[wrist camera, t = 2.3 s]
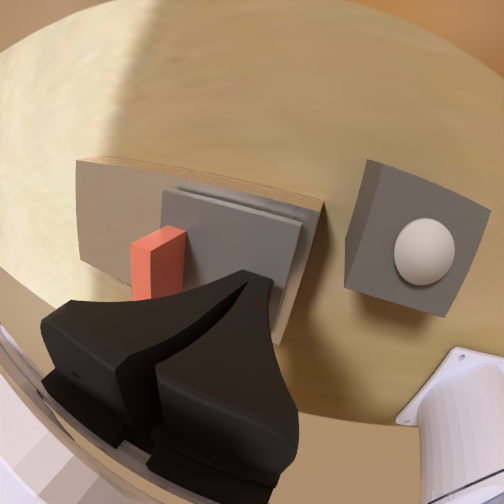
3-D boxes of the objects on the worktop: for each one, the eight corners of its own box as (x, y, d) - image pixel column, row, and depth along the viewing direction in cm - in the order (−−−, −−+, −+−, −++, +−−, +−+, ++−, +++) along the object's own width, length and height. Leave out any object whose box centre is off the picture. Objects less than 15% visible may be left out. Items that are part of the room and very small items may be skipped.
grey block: (442, 187, 10) (496, 213, 5) (416, 262, 12) (447, 324, 7) (367, 159, 11) (385, 164, 6) (345, 238, 13) (343, 293, 8)
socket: (323, 201, 12) (319, 212, 10) (289, 319, 15) (279, 345, 13) (103, 155, 16) (76, 160, 13) (103, 247, 18) (80, 259, 16)
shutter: (302, 222, 10) (286, 250, 8) (270, 338, 13) (249, 383, 10) (170, 188, 12) (122, 202, 9) (165, 297, 14) (129, 329, 11)
